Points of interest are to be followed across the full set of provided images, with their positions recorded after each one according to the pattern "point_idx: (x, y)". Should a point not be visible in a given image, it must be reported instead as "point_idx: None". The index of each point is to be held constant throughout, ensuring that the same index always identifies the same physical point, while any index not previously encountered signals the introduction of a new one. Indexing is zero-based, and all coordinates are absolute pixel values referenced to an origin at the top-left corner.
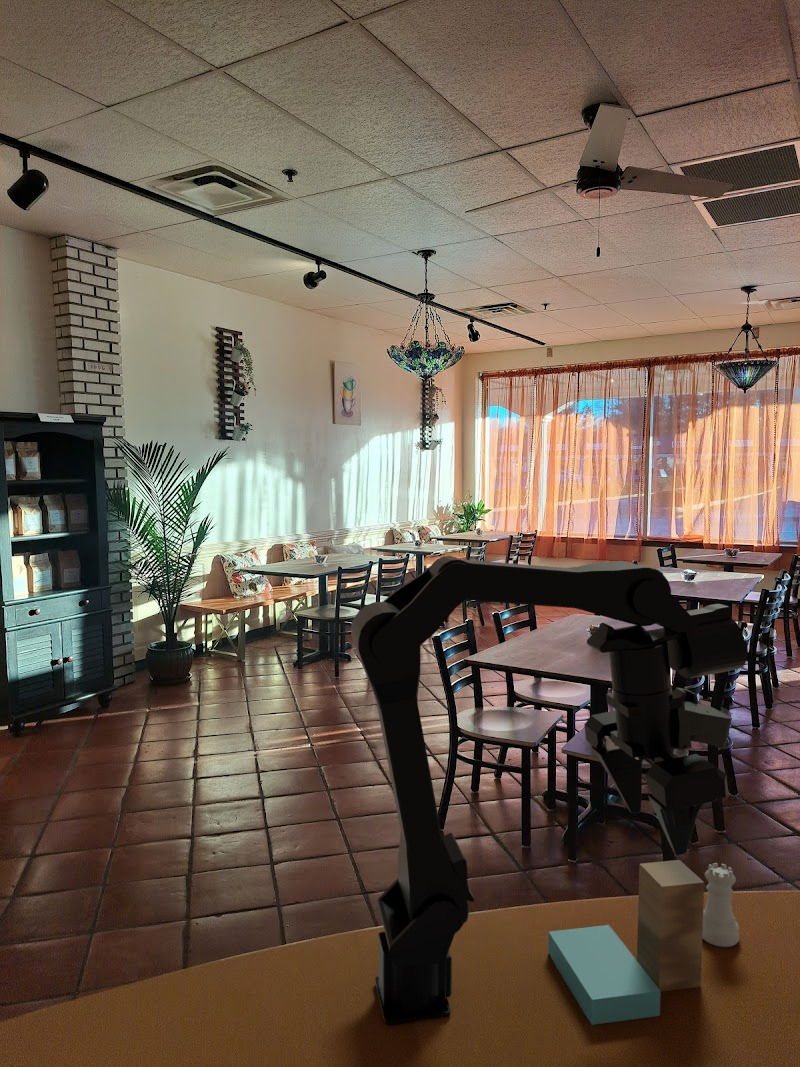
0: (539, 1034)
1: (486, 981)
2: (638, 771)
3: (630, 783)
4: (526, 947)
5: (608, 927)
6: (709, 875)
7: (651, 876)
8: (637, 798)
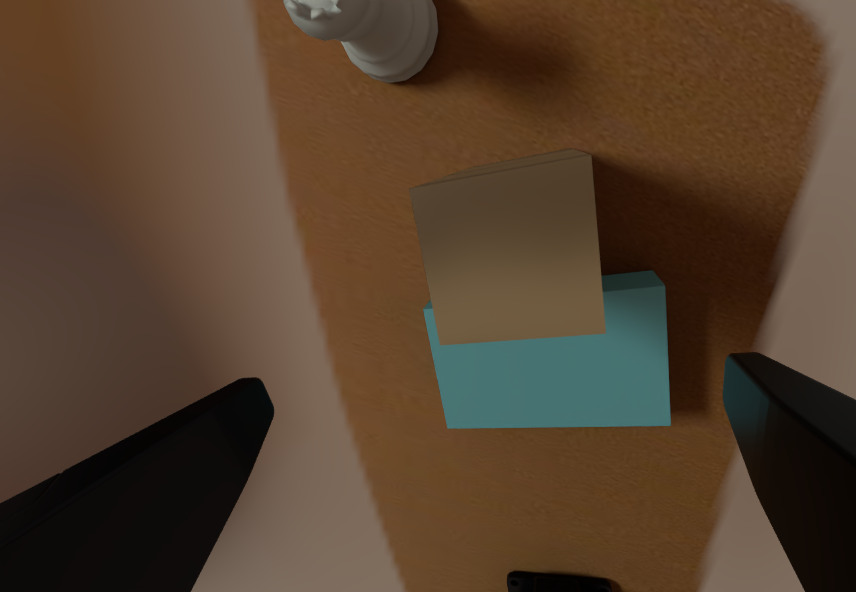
0: (667, 479)
1: (526, 511)
2: (37, 553)
3: (149, 535)
4: (437, 430)
5: (432, 313)
6: (332, 27)
7: (524, 337)
8: (217, 435)
